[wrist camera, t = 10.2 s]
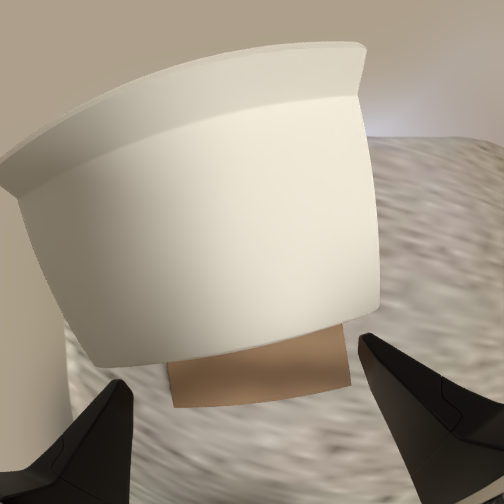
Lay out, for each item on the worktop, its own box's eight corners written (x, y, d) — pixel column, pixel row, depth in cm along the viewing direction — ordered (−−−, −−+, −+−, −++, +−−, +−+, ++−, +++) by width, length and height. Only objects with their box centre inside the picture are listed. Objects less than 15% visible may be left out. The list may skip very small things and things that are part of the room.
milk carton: (307, 334, 20) (504, 252, 2) (216, 355, 20) (-36, 363, 2) (284, 248, 22) (292, -9, 4) (199, 268, 22) (35, 76, 4)
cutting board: (346, 382, 19) (351, 385, 18) (179, 404, 20) (173, 407, 19) (311, 206, 25) (313, 198, 23) (165, 230, 25) (159, 224, 24)
